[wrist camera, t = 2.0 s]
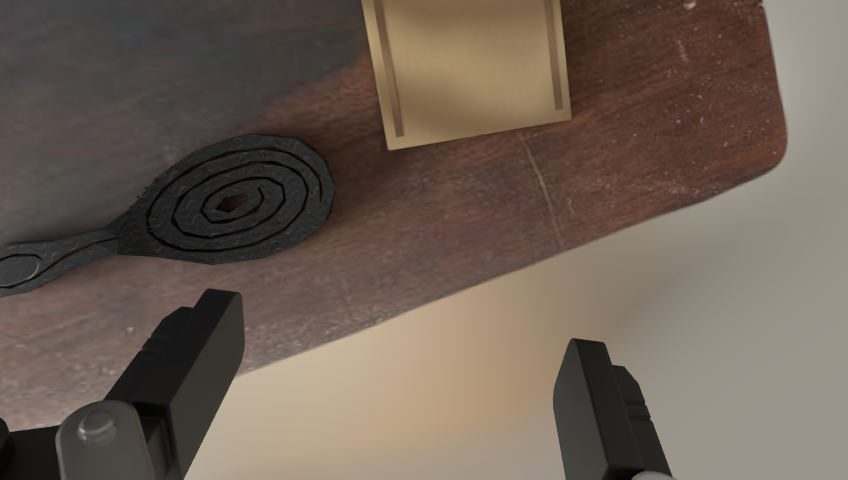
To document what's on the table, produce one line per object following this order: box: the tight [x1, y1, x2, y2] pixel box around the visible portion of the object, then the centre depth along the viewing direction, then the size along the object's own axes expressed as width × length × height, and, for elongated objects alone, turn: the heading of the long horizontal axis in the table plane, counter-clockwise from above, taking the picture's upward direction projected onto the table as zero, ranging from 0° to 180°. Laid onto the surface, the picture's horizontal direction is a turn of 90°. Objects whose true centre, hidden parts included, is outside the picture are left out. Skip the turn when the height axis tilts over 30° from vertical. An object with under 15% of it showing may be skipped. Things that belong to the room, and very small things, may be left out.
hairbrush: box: [0, 134, 336, 297], centre depth 37 cm, size 8×4×25 cm
